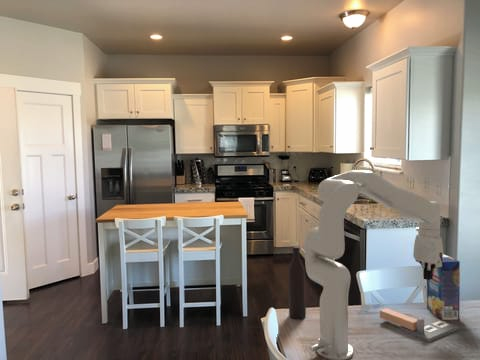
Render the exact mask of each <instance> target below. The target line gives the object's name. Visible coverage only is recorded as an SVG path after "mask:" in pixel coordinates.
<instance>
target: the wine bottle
mask: <svg viewBox="0 0 480 360" xmlns="http://www.w3.org/2000/svg"><path fill="white" fill-rule="evenodd" d="M287 271H288V273H287V275H288V277H287V278H288V315H289V317H290V318H291V319H295V320H303V319H304V318H306V315H307V309H306V306H307V305H306V299H307V298H306V268H305V265H304V264H303V262H302V260H301V258H300V246H293V247H292V259H291V261H290V263H289V266H288V269H287Z"/></svg>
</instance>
